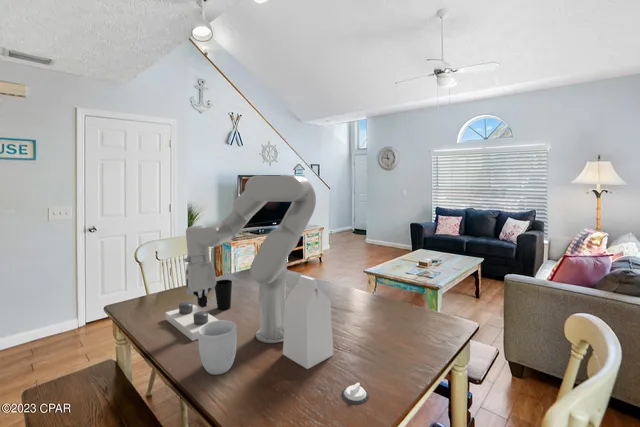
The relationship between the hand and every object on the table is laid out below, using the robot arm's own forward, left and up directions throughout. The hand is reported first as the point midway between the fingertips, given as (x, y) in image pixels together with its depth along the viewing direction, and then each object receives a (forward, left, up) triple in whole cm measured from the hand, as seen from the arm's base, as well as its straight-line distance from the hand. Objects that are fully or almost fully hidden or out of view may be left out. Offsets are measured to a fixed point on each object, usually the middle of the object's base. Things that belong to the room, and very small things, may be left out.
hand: (202, 306), depth 125 cm
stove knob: (-65, -11, -10) cm, 67 cm away
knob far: (+15, +1, -9) cm, 17 cm away
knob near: (+1, +1, -9) cm, 9 cm away
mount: (+8, +1, -10) cm, 12 cm away
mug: (-27, +8, -10) cm, 30 cm away
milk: (-41, -16, -10) cm, 45 cm away
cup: (+15, -16, -10) cm, 24 cm away
